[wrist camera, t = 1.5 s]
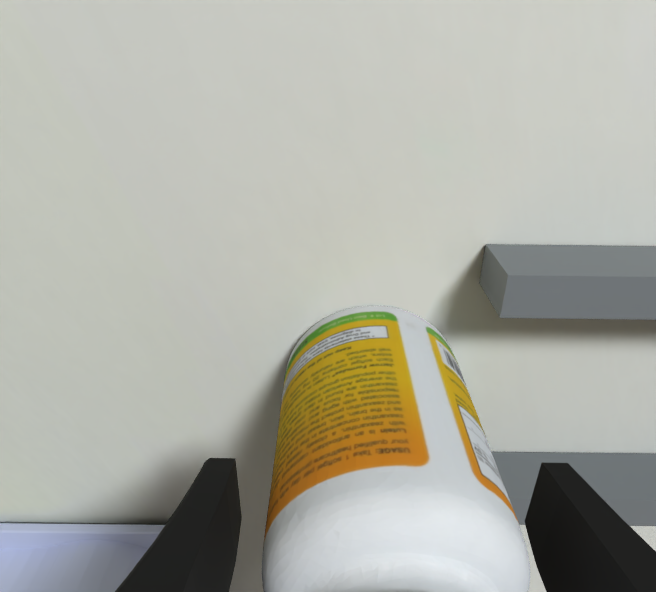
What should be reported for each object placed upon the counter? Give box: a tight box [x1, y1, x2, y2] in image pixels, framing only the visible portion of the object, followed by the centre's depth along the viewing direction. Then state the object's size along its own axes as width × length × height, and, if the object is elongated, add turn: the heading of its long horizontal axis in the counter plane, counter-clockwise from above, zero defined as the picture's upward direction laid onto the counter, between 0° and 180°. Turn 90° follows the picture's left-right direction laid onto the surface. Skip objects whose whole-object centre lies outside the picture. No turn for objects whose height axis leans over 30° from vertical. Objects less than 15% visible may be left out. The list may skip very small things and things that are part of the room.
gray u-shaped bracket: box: [479, 244, 656, 526], centre depth 15 cm, size 10×9×2 cm
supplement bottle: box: [262, 306, 530, 592], centre depth 12 cm, size 5×5×10 cm
